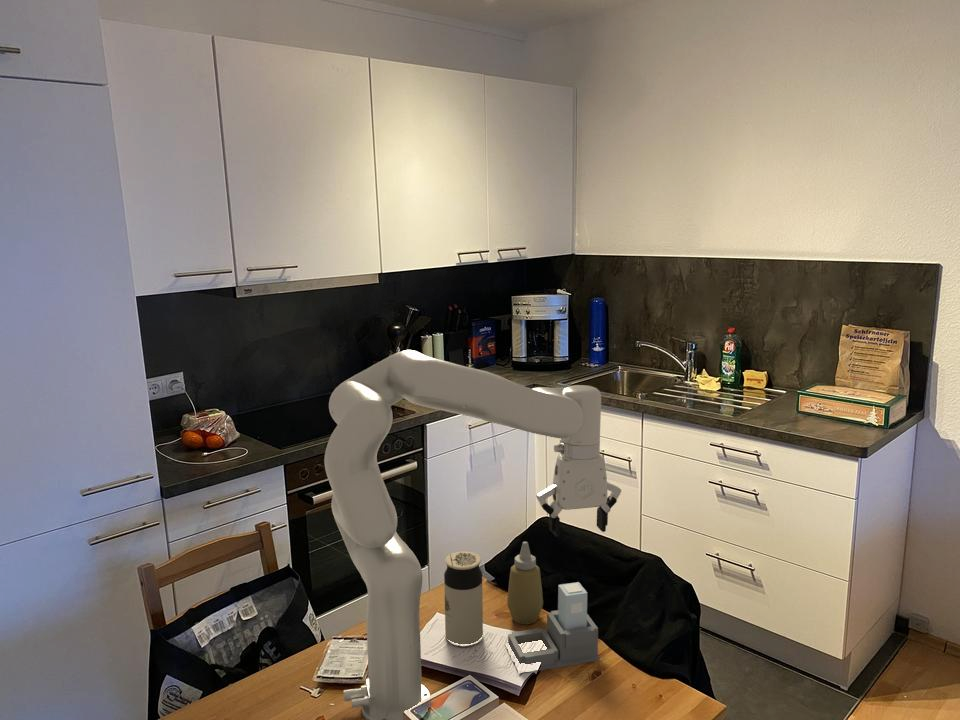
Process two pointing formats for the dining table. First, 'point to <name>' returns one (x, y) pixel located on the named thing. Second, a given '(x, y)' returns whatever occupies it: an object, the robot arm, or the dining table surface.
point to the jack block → (557, 644)
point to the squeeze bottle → (525, 588)
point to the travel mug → (463, 598)
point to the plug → (572, 606)
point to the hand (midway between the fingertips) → (578, 531)
